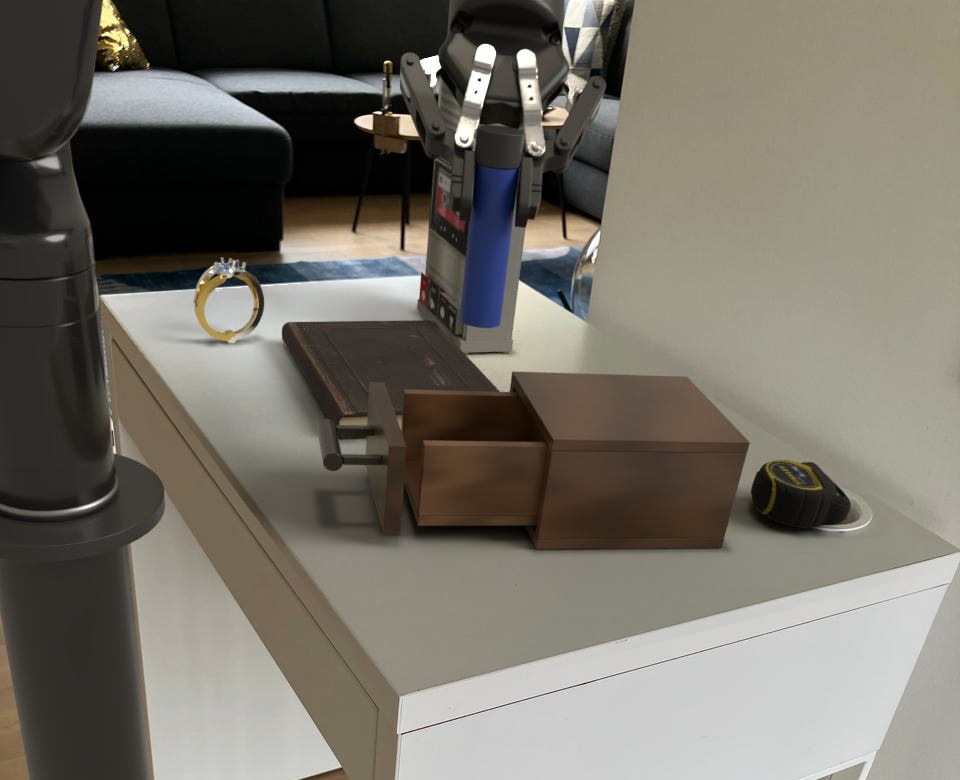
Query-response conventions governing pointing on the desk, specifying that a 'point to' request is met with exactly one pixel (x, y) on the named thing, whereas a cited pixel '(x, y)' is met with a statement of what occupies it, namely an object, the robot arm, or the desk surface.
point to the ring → (207, 287)
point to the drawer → (447, 457)
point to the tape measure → (798, 495)
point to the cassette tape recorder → (461, 260)
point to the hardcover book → (377, 363)
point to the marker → (490, 224)
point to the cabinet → (631, 461)
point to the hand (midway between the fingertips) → (494, 216)
